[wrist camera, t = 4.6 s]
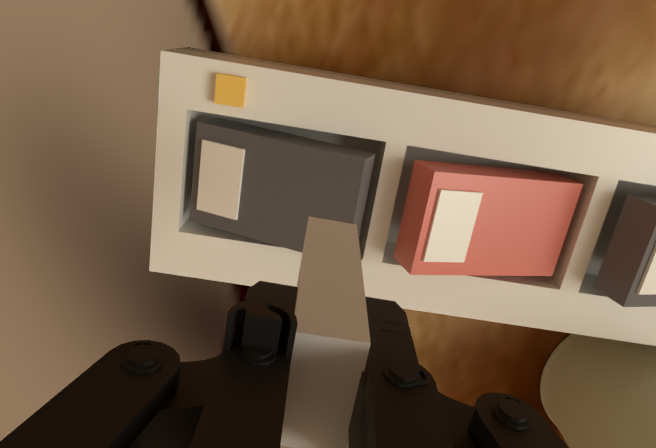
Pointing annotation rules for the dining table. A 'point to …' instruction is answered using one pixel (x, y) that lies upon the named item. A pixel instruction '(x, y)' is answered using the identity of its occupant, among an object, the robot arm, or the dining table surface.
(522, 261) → the rocker mid
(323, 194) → the rocker
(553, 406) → the can
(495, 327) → the dining table surface
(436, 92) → the strip
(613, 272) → the rocker
